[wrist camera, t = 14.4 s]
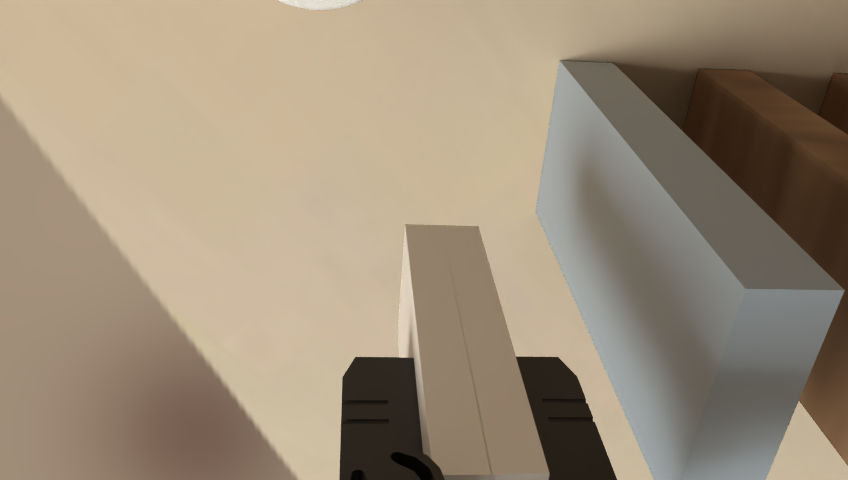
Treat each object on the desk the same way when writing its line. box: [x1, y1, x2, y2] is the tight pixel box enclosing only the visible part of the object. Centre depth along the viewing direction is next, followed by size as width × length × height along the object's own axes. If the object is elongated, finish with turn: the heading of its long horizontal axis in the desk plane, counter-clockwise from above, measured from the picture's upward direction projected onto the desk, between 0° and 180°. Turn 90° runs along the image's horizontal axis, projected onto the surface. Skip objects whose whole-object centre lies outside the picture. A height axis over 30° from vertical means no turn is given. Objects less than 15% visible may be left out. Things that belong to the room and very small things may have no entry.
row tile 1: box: [683, 68, 848, 465], centre depth 18 cm, size 2×5×12 cm, turn 176°
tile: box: [536, 61, 845, 480], centre depth 18 cm, size 2×5×12 cm, turn 176°
